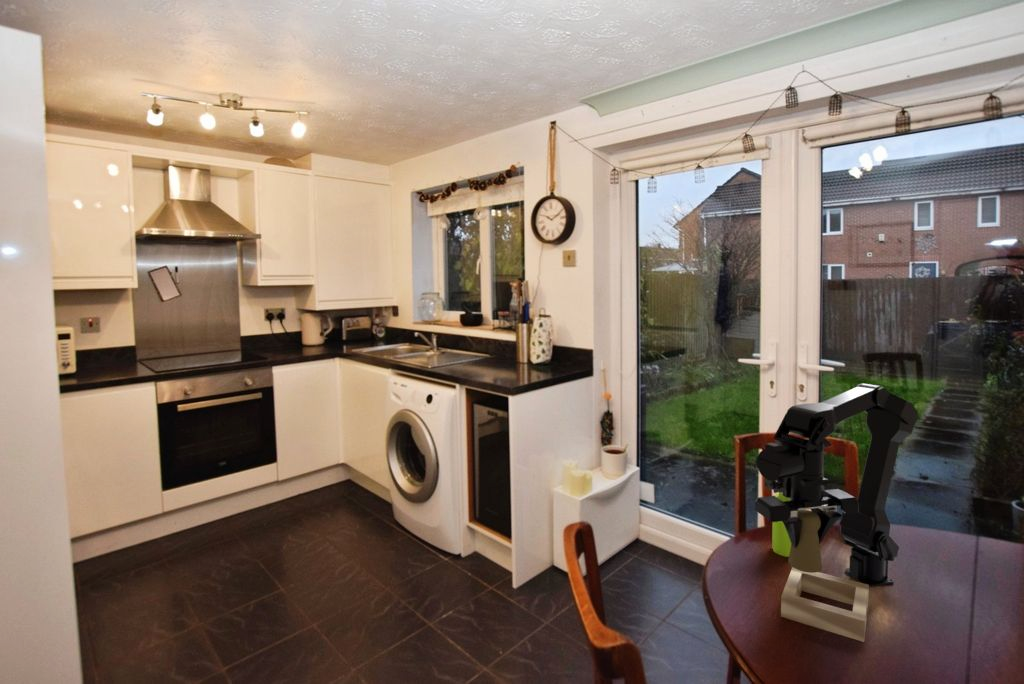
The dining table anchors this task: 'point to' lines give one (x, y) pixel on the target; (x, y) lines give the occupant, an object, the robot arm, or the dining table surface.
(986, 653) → the dining table surface
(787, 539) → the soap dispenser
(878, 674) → the dining table surface
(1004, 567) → the dining table surface
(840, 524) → the robot arm
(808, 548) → the olive round-headed peg
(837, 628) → the socket block
